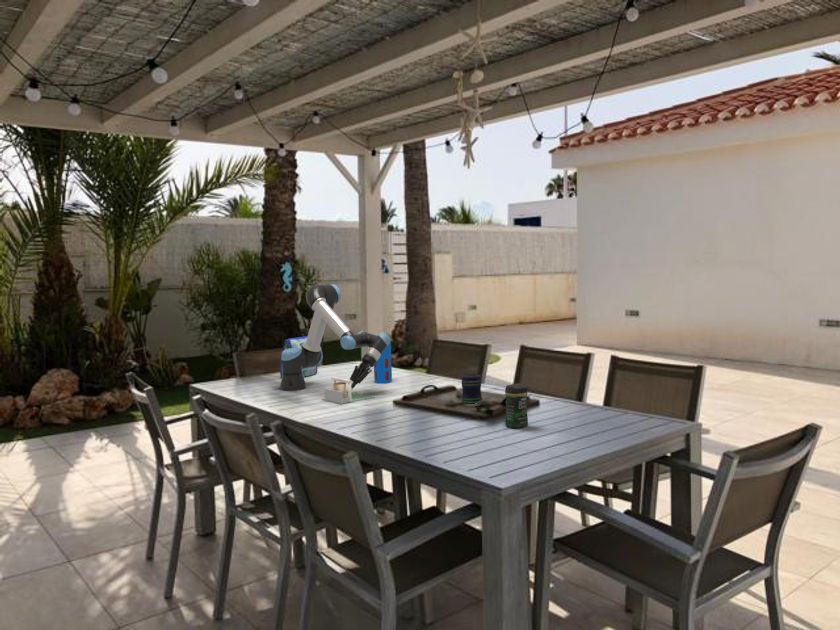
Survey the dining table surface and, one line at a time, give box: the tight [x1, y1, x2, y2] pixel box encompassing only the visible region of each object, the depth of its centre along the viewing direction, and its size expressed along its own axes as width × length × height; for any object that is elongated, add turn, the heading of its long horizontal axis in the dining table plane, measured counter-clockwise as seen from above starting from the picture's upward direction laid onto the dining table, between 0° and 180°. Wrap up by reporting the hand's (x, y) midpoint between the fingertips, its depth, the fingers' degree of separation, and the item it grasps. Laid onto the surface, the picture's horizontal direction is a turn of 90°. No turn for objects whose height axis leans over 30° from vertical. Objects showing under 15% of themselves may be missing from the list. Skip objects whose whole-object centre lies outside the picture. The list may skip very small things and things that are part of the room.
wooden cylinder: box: [332, 381, 348, 399], centre depth 356 cm, size 7×7×9 cm
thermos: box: [373, 341, 393, 385], centre depth 410 cm, size 11×11×25 cm
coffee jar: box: [504, 382, 529, 429], centre depth 290 cm, size 10×8×19 cm
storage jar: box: [461, 373, 483, 404], centre depth 336 cm, size 10×10×15 cm
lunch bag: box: [279, 335, 318, 379], centre depth 439 cm, size 22×17×26 cm
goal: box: [324, 376, 353, 405], centre depth 356 cm, size 16×7×11 cm, turn 41°
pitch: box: [321, 392, 375, 405], centre depth 363 cm, size 18×22×1 cm
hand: (347, 392), depth 360 cm, fingers closed
